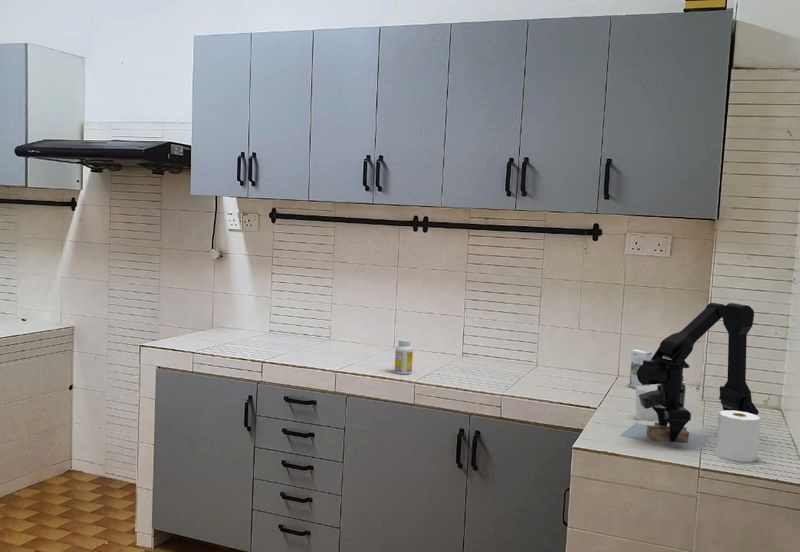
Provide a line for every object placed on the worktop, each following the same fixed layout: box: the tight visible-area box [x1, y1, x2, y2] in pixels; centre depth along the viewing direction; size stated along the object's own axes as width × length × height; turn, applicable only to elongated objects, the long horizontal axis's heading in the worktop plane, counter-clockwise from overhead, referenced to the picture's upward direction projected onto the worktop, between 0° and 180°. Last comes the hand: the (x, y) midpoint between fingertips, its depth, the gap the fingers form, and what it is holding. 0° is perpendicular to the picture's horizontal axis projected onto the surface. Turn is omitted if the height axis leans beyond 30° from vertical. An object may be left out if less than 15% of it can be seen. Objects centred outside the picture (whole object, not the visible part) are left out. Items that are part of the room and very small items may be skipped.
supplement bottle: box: [394, 338, 414, 375], centre depth 304 cm, size 7×7×13 cm
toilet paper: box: [715, 409, 761, 463], centre depth 213 cm, size 10×10×12 cm
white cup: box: [635, 385, 658, 422], centre depth 251 cm, size 8×8×10 cm
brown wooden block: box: [646, 424, 690, 443], centre depth 227 cm, size 10×6×3 cm, turn 89°
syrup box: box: [629, 348, 653, 390], centre depth 297 cm, size 6×6×14 cm
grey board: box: [619, 421, 712, 452], centre depth 230 cm, size 22×18×3 cm
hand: (667, 436), depth 227 cm, fingers open, 9 cm apart
